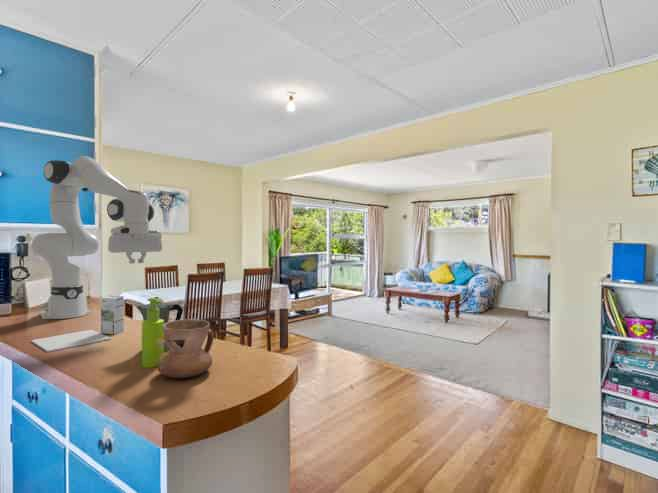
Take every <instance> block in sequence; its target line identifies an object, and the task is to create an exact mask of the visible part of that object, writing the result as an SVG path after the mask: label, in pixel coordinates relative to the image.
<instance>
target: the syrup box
mask: <svg viewBox="0 0 658 493" xmlns="http://www.w3.org/2000/svg"><path fill="white" fill-rule="evenodd" d="M124 298H125V297H124V295H112V294H111V295H105V296H103V297H100V333H101V334H103V335H114V336H115V335H117V334H120V333H123V332H124V331H125V325H124V324H125V323H124V316H125V315H124V313H125V312H124V311H125V310H124V307H125V305H124V302H125V301H124Z"/></svg>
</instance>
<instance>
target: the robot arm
mask: <svg viewBox="0 0 658 493" xmlns="http://www.w3.org/2000/svg"><path fill="white" fill-rule="evenodd" d="M43 176H44V178H45V180H46V181H47V182H49V183H52V184H51V186H50V191H49V212H50V220H51V221H52V222H53V223H54V225H57V226H59V227H61V228H63V230H65V232H47V233H46V232H45V233H39V234H37V235H36V236H35V237H34V239H33V240H32V242H31V247H32V250H33V252H34V253H35V255H38V256H39V257H41V258H42V259H44V261H46V263H47V264H48V266H49V267H50V270H51V278H52V286H51V289H50V296H49V298H48V299H47V301H46V302H44V303H42V309H45V310H43V311H40V317H41V319H42V320H62V319H63V320H64V319H72V318H78V317H83V316H85V315H87V314H91V310H89V309H88V302H87V296H86V295H84V294H83V293H84V285H83V271H82V269H81V267H80V266H79V265H76V264H74V263H71V262H70V261H69V259H68V257H86V256H90V255H95V254H96V253H97V252H98V250H99V248H100V242H99V239H98V238H97V237H96V235H94V234H93V233H91V232H90V231H88V229H87V228H86V227H85V225H84V223H83V221H82V218H81V212H80V203H79V202H80V201H79V192H80V191H83V192H85V193H86V192H88V191H91V192H92V193H95V194H100V195H105V196H109V197H114V198H113V199H112V200H110V201H109V202H108V204H107V208H106V212H107V213H106V214H107V215H108V217H109V218H110V219H111V220H112V221H113V222H114V221H115V222H121V223H124V225H119V226H117V227H112V228H111V229H110V233H111V234H110V236H109V238H108V243H107V244H108V246H107V250H108V251H109V253H112V254H113V253H114V254H115V253H118V254H119V253H125V255H126V257H127V258H128V264H135V263H136V259H135V258H133V256H132V255H133V253H140V255H141V256H140V257H139V258H137V263H138V264H144V259H145V258H146V256H147V253H152V252H153V253H160V252H162V250H163V245H162V244H163V243H162V233H161V232H160V231H159V230H155V229H154V230H151V229H149V228H150V227H149V226H150V224H149V222H151V221H152V220H153V219H154V216H155V210H154V207H153V205H152V204H151V203H150V202H149V197H148V195H147V193H145V192H144V191H140V190H133V189H131V188H130V187H129V186H127V185H126V184H125V183H123V182H122V181H120V180H119V179H117V178H116V177H114V176H113V175H112V174H111V173H110V172H108V171H107V170H106V168H104V167H103V165H102V164H100V163H99V162H98V161H97V160H96V159H94V158H92V157H90V156H88V155H87V156H86V155H82V156H79V157H77V158H75V160H74V161H73V162H69V161H65V160H61V159H60V160H58V159H55V160H54V159H53V160H52V159H51V160H49V161H48V162H46V163H45V165H44V167H43Z"/></svg>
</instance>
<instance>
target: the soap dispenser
mask: <svg viewBox="0 0 658 493" xmlns="http://www.w3.org/2000/svg"><path fill="white" fill-rule="evenodd" d="M147 301H148V302H149V304H150V308H149V309H148V310H147V320H145V321H143V320H142V322H141V367H142V368H147V369H149V368H150V369H151V368H152V369H153V368H157V363H158V360H159V359H160V358H161V357H162V356H163V355H164V354H165V352H164V344H163V345H160V346H159V345H158V344H157V343H156V342H157V341H158V340H160V339H162V338H164V333H163V325H164V320H163V319H159V309H158V308H156V303H164V301H165V300H164V299H162V298H160V297H159V298H155V297H152V298H147Z"/></svg>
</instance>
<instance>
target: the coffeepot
mask: <svg viewBox="0 0 658 493" xmlns="http://www.w3.org/2000/svg"><path fill="white" fill-rule="evenodd" d="M154 298H159V299H160V297H158V296H156V297H154ZM149 308H150V303H148V304H142V305H138V306H136V309H137V310H138V311H139V313H140V314H141V315H142V319H143V320H142V322H143V321H145V320H147V310H148V309H149ZM156 308H158V309H159V319H163V320H164V324H165V323H168V322H169V317H170V313H171V311H174V310H176V311H177V312H176V314H175V315H176V316H175V319H174V320H181V318H182V316H183V313H184V309H183V308H182V306H181V305H180V304H179V303H177V304H176V303H173V304H171V303H164V302H161V303H156ZM164 338H165V337H164ZM168 351H170V349H169V347H168V345H167V344H164V353H165V352H166V353H167V352H168Z"/></svg>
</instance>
